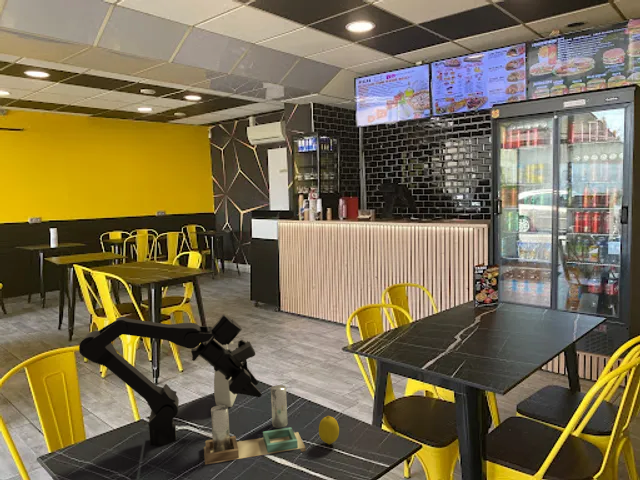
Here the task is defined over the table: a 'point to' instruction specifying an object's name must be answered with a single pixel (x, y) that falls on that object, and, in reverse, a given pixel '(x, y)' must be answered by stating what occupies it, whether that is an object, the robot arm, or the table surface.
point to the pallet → (256, 446)
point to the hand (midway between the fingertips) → (259, 389)
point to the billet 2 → (279, 406)
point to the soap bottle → (223, 388)
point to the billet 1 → (220, 428)
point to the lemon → (328, 430)
